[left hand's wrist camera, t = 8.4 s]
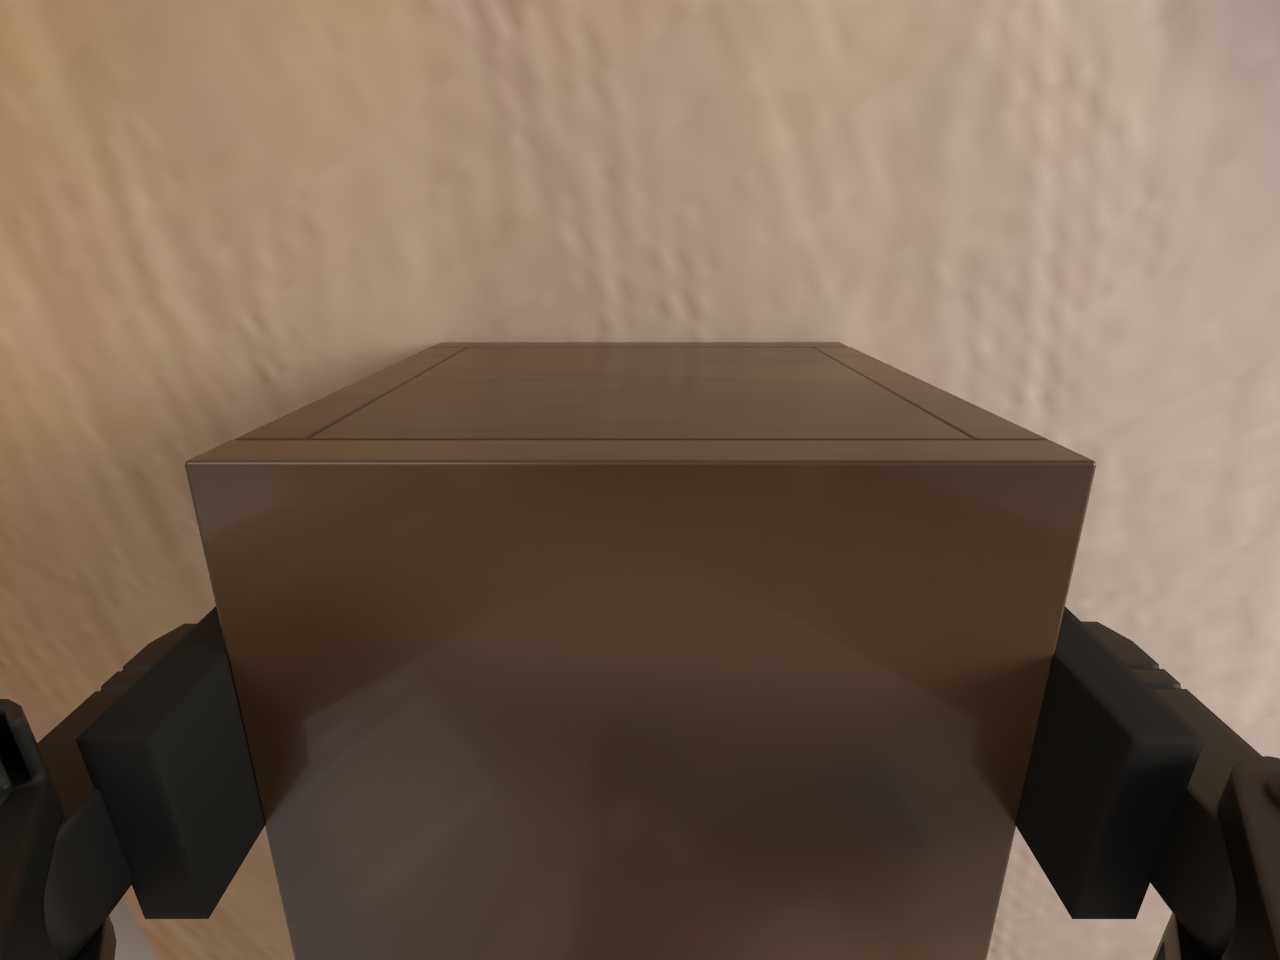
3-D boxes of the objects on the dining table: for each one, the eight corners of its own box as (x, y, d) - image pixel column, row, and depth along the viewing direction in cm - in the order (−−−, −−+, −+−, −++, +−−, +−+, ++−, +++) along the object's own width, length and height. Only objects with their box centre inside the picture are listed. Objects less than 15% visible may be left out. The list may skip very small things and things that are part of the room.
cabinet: (785, 945, 24) (885, 1420, 14) (495, 944, 24) (396, 1419, 14) (841, 342, 18) (1098, 461, 8) (439, 342, 18) (181, 461, 8)
